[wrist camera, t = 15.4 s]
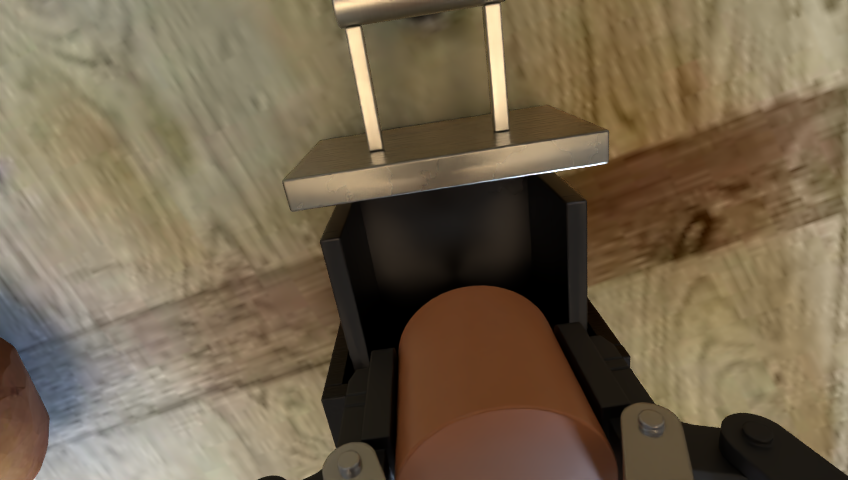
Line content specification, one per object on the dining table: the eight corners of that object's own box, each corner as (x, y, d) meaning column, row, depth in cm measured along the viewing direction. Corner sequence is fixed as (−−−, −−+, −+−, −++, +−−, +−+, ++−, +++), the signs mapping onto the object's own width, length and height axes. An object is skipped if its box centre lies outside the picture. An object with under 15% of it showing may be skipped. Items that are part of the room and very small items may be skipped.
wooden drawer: (287, 7, 20) (226, -12, 13) (543, -35, 20) (613, -76, 13) (371, 359, 28) (360, 459, 21) (556, 332, 27) (605, 425, 21)
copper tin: (366, 362, 15) (348, 507, 10) (471, 254, 13) (505, 365, 9) (479, 433, 16) (507, 590, 11) (584, 342, 15) (666, 479, 10)
